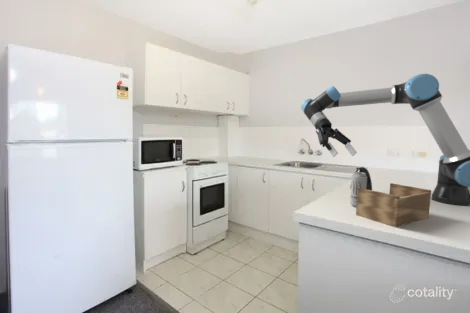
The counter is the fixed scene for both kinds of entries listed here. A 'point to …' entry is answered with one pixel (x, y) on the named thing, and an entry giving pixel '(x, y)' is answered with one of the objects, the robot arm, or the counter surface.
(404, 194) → the oak crate
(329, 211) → the counter surface
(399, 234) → the counter surface
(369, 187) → the black tall egg shape
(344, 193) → the counter surface
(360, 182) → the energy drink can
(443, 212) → the counter surface
